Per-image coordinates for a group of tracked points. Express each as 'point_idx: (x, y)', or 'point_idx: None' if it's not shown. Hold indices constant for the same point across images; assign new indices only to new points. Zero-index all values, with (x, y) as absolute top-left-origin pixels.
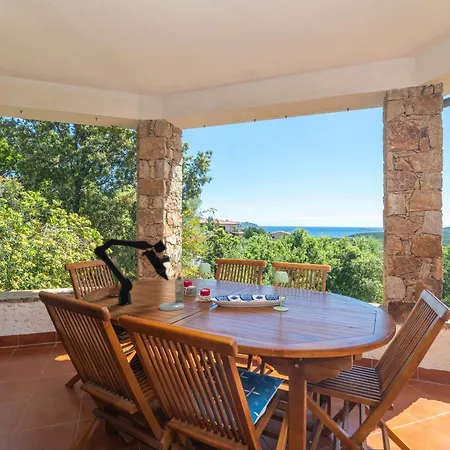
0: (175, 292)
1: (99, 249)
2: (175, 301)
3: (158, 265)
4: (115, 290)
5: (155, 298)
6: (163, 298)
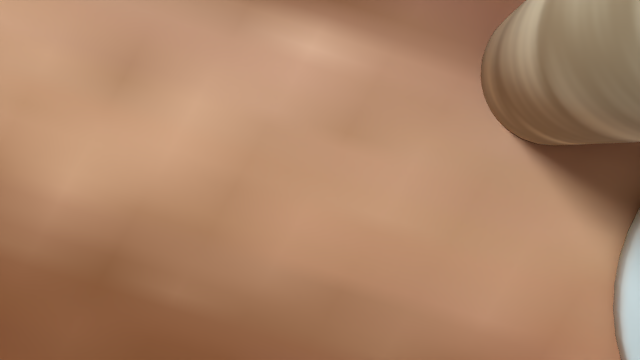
0: (630, 141)
1: None
2: (550, 144)
3: None
4: None
5: (75, 352)
6: (140, 232)
